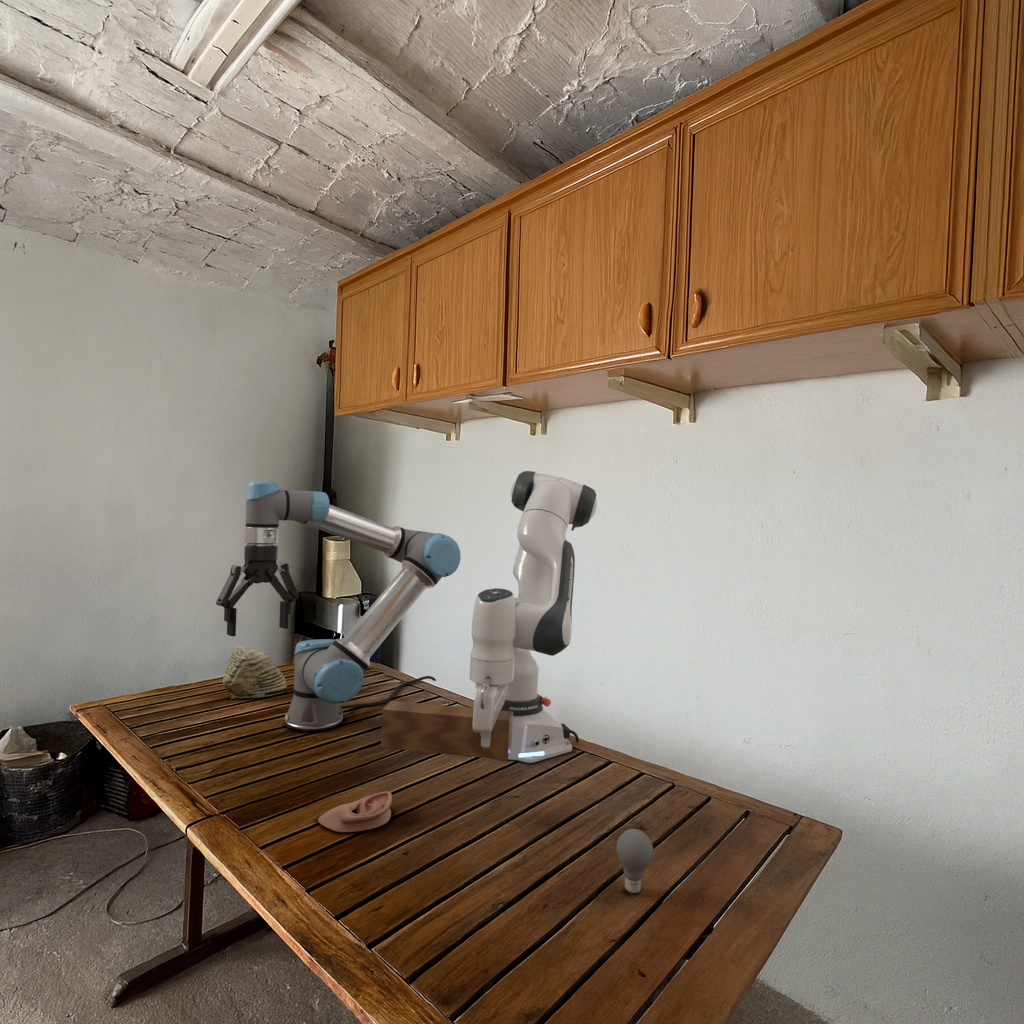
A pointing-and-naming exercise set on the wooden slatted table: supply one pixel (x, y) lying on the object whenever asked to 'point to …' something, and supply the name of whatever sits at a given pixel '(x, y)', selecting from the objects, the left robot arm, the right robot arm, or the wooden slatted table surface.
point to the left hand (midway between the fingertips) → (258, 631)
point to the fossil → (252, 674)
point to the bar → (442, 730)
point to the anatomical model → (359, 814)
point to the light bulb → (634, 857)
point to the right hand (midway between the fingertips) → (488, 739)
